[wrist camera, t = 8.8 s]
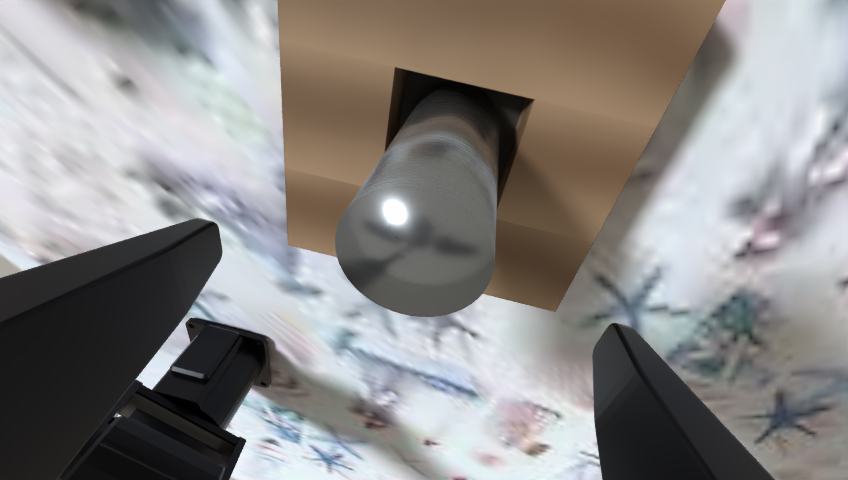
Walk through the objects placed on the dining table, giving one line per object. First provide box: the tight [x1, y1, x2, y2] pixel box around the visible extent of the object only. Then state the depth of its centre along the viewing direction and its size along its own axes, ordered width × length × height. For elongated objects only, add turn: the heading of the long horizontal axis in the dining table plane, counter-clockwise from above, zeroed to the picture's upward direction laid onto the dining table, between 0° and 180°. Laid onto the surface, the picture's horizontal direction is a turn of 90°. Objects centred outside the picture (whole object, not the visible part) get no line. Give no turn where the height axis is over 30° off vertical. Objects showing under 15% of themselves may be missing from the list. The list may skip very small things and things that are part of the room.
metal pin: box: [335, 81, 500, 317], centre depth 14 cm, size 4×4×10 cm
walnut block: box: [278, 0, 726, 312], centre depth 17 cm, size 14×14×4 cm
